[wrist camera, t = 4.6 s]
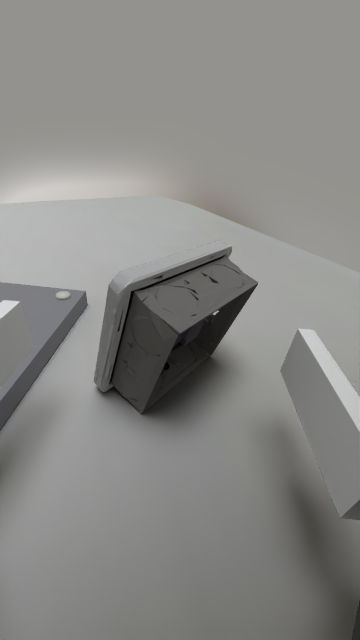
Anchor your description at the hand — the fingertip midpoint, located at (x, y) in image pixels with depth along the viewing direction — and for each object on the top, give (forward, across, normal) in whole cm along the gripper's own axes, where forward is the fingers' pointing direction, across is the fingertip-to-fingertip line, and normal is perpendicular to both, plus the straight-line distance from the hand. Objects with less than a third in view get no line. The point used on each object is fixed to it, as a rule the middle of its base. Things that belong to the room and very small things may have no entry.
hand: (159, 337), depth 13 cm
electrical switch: (+4, +1, -6) cm, 7 cm away
